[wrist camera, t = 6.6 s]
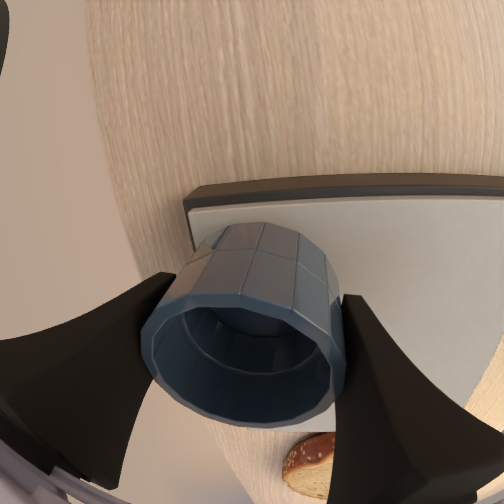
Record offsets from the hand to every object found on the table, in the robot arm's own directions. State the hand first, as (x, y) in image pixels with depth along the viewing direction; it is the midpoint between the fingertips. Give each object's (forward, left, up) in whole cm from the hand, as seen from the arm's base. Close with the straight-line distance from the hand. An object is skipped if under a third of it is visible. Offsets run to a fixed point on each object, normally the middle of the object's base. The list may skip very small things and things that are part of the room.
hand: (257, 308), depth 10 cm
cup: (0, 0, -1) cm, 1 cm away
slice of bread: (+21, -17, -6) cm, 28 cm away
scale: (+7, -1, -5) cm, 9 cm away
